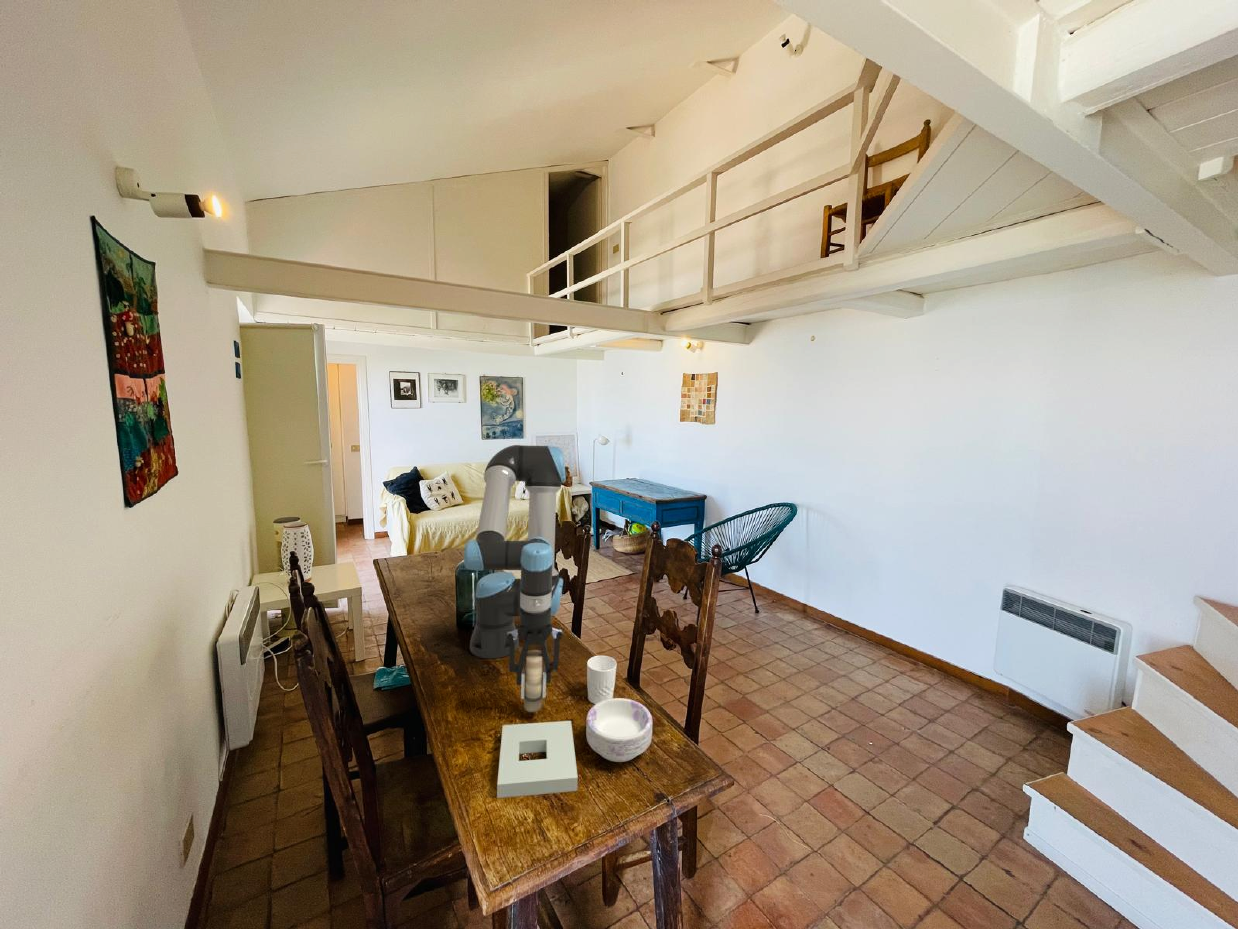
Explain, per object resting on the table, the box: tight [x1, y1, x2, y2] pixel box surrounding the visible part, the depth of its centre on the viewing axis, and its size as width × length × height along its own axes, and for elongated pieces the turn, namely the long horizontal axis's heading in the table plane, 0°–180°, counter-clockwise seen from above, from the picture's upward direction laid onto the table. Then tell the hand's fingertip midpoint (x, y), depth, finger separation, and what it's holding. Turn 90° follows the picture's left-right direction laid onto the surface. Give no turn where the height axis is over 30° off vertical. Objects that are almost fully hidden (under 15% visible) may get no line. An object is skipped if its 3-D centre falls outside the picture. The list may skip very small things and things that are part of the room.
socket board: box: [496, 720, 578, 799], centre depth 108 cm, size 18×16×3 cm
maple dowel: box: [523, 649, 544, 713], centre depth 123 cm, size 5×5×14 cm
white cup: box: [586, 655, 618, 705], centre depth 132 cm, size 8×8×10 cm
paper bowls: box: [585, 697, 653, 763], centre depth 114 cm, size 15×15×8 cm
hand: (533, 695), depth 124 cm, fingers closed on maple dowel, 4 cm apart
